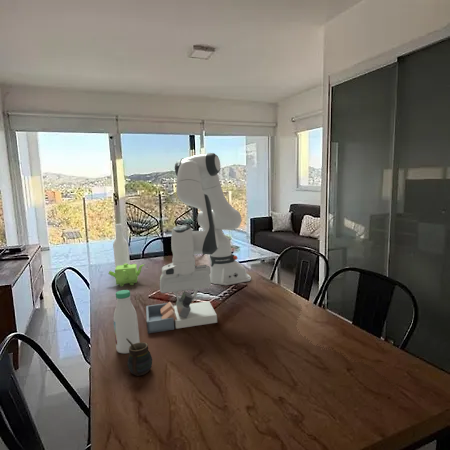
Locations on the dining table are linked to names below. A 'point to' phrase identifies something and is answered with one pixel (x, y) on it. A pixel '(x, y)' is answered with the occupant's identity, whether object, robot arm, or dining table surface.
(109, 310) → the dining table surface
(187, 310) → the two-tone stepped block
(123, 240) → the alcohol
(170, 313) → the tile front
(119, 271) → the kettle
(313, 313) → the dining table surface
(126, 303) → the milk bottle
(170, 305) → the tile back
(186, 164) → the robot arm
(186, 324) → the board
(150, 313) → the tray
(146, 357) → the mate gourd
